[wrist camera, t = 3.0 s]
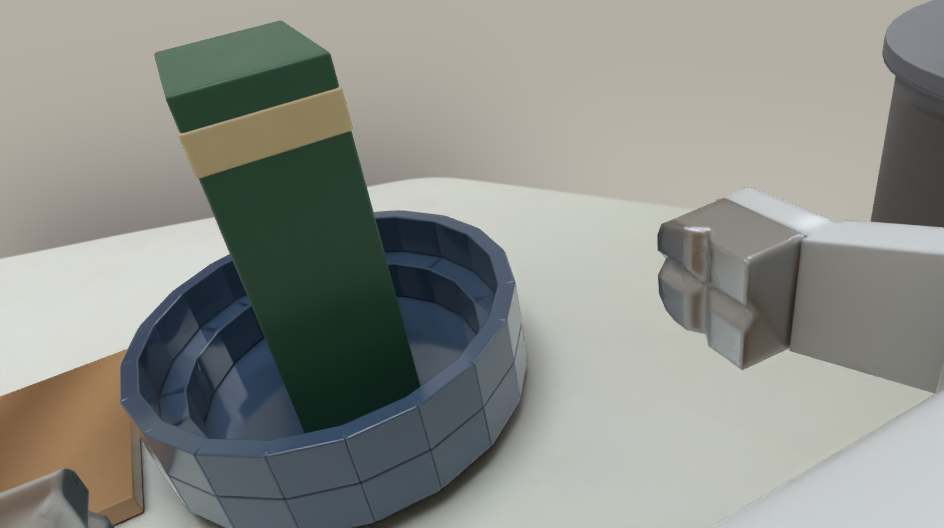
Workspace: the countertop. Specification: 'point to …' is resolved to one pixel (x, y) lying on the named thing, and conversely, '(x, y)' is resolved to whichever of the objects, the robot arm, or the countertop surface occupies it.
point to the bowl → (342, 447)
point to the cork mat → (75, 437)
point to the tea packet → (294, 215)
